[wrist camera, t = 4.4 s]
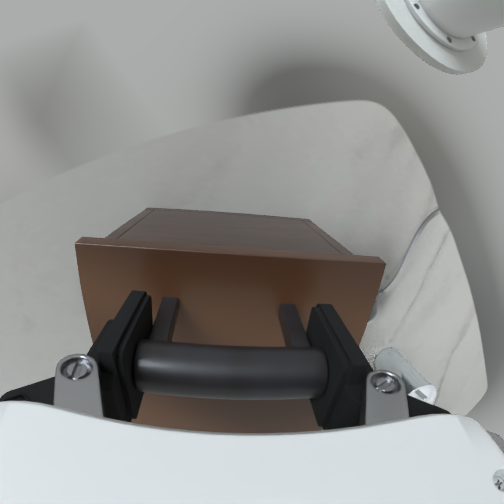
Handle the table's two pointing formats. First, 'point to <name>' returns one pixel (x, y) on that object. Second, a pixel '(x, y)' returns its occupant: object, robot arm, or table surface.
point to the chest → (228, 230)
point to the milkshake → (406, 374)
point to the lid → (227, 327)
